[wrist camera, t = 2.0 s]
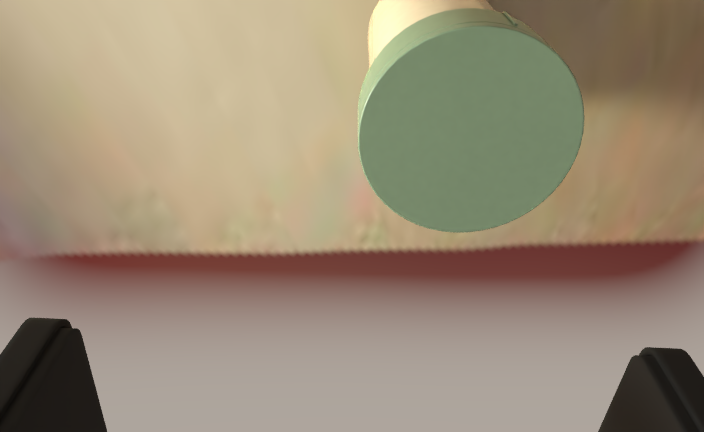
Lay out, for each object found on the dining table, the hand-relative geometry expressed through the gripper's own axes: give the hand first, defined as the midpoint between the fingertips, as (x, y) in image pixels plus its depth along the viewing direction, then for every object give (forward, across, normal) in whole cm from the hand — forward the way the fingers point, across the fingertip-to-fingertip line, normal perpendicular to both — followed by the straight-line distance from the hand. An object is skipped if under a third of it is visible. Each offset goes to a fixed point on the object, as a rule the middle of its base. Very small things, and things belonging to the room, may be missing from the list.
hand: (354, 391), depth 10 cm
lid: (+11, -4, 0) cm, 12 cm away
